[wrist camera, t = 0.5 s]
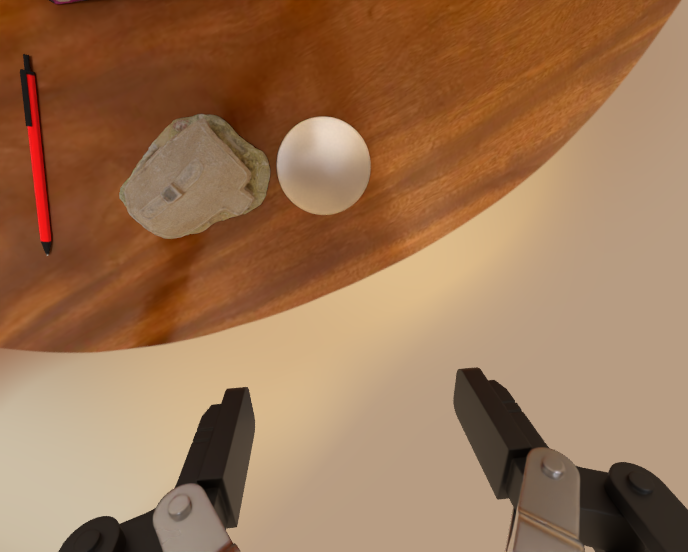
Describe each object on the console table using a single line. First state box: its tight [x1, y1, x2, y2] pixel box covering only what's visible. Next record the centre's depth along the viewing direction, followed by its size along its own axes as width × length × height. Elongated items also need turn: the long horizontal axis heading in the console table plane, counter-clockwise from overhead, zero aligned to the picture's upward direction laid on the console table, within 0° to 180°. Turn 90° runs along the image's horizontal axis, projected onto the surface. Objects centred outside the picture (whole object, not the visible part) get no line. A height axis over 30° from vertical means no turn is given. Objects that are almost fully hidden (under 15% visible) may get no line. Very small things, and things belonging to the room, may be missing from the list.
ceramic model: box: [119, 114, 270, 239], centre depth 32 cm, size 14×11×10 cm
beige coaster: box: [276, 116, 371, 215], centre depth 37 cm, size 10×10×1 cm
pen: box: [20, 54, 51, 256], centre depth 33 cm, size 1×19×1 cm, turn 168°
